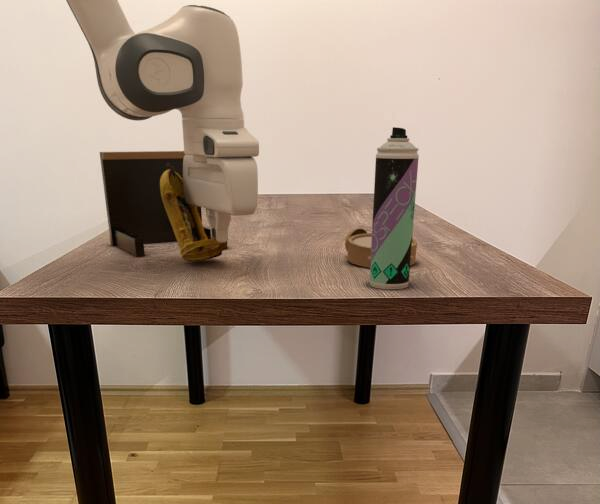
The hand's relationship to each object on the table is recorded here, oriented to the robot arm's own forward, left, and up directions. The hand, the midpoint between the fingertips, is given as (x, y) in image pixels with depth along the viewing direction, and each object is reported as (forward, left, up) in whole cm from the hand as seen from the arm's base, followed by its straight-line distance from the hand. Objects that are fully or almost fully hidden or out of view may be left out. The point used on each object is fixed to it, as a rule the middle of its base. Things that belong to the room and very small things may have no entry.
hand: (219, 240), depth 98 cm
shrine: (-2, +6, -4) cm, 8 cm away
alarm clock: (+26, -6, -4) cm, 27 cm away
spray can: (+16, -22, -4) cm, 28 cm away
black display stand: (0, +23, -4) cm, 23 cm away
